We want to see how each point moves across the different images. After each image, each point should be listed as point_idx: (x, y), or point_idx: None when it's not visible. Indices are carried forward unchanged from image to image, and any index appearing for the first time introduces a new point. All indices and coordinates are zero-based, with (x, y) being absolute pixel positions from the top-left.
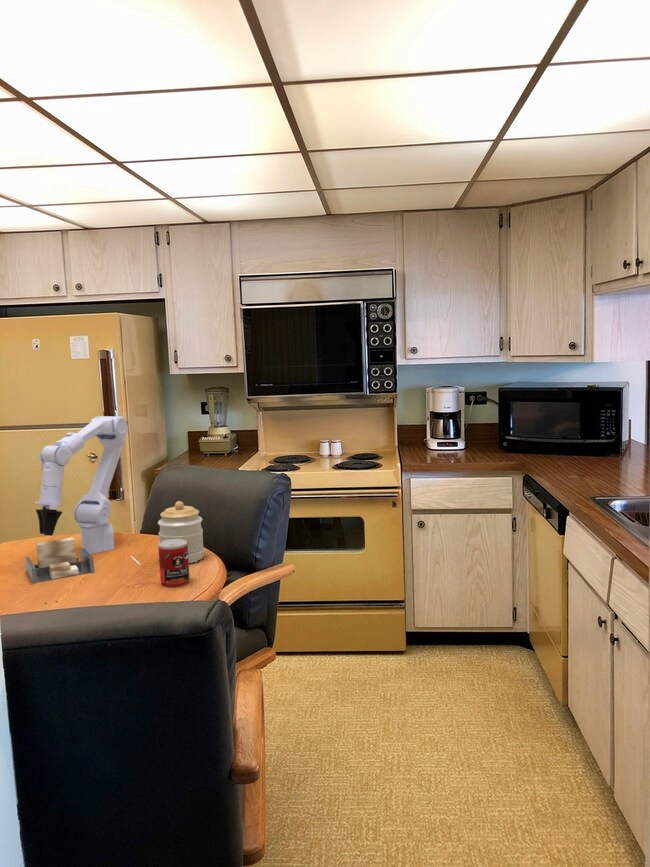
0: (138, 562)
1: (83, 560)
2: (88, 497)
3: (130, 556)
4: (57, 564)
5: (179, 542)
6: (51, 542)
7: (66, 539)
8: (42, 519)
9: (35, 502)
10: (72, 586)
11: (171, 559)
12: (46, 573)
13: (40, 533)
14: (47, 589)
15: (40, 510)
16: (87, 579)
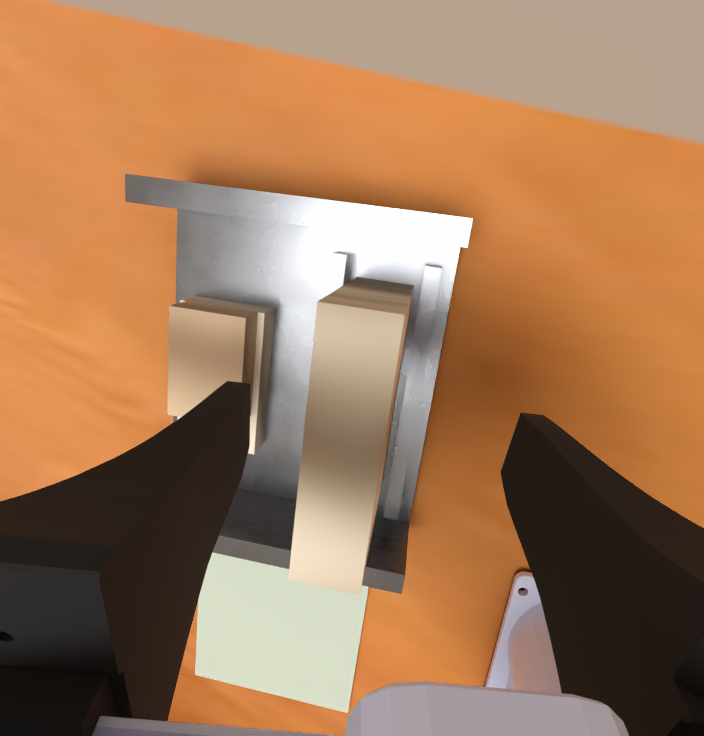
0: (225, 680)
1: None
2: None
3: (342, 705)
4: (217, 360)
5: None
6: (324, 422)
7: (331, 538)
8: (592, 542)
9: (387, 734)
10: (86, 348)
11: None
12: (316, 303)
13: (526, 414)
14: (109, 237)
15: (89, 547)
16: (148, 437)
